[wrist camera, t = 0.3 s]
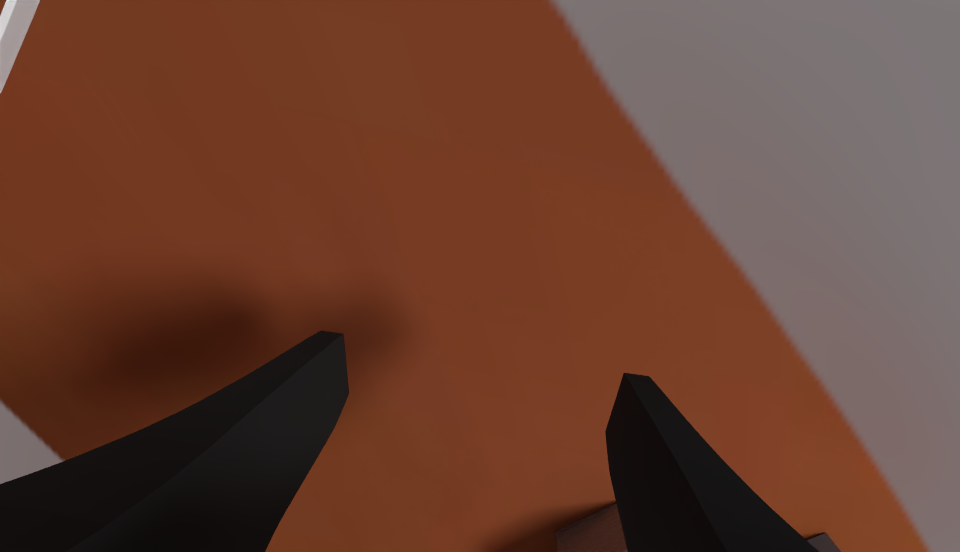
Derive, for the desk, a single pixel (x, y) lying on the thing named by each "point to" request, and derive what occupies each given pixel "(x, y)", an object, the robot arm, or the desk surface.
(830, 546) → the stand
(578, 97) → the desk surface
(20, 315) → the desk surface
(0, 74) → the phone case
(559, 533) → the block
